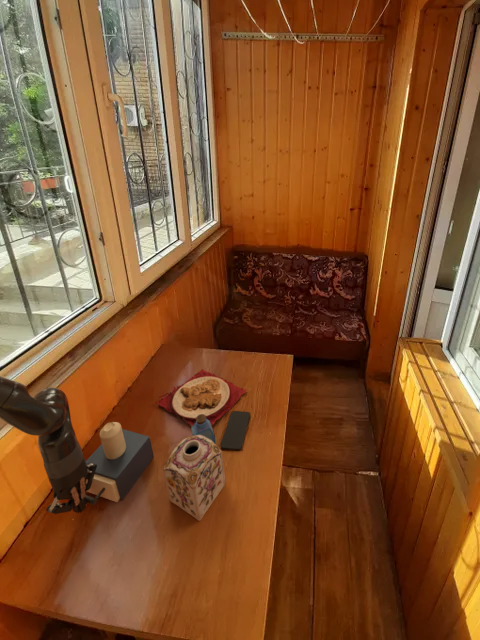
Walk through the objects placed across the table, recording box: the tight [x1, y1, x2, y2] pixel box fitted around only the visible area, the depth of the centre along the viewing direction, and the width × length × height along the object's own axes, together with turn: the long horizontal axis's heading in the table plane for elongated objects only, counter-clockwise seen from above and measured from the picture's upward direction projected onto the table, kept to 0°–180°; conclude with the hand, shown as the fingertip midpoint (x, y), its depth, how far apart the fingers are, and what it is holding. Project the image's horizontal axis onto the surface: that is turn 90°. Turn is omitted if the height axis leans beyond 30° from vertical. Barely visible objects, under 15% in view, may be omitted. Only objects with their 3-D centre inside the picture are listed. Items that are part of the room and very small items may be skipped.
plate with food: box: [156, 368, 247, 427], centre depth 123 cm, size 24×26×4 cm
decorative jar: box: [162, 435, 226, 522], centre depth 87 cm, size 12×12×18 cm
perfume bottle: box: [191, 414, 217, 445], centre depth 103 cm, size 6×6×12 cm
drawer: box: [85, 473, 120, 506], centre depth 91 cm, size 17×11×7 cm
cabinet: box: [85, 428, 155, 502], centre depth 95 cm, size 14×13×9 cm
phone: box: [220, 410, 251, 451], centre depth 110 cm, size 7×1×15 cm
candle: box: [99, 421, 126, 459], centre depth 91 cm, size 6×6×10 cm
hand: (81, 509), depth 82 cm, fingers closed
